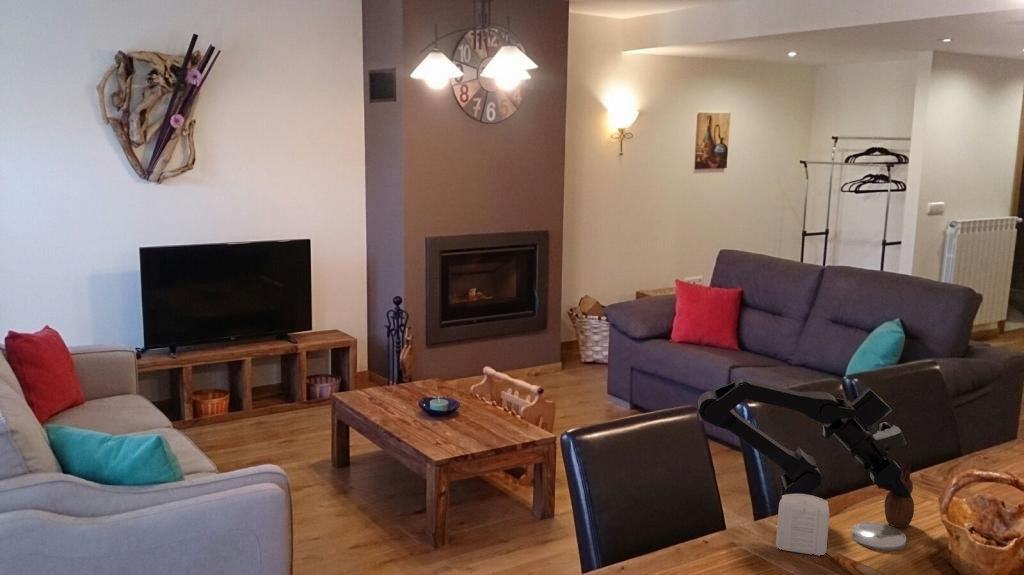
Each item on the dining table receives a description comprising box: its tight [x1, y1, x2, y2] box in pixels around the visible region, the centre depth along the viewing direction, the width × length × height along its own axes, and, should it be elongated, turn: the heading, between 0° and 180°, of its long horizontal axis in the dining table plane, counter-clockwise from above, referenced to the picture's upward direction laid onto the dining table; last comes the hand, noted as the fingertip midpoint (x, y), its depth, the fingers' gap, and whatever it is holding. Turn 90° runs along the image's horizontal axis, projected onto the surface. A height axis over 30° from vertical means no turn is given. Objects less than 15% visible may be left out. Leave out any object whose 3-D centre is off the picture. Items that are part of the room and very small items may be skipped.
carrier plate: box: [851, 521, 907, 552], centre depth 197 cm, size 11×11×2 cm
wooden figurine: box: [883, 463, 915, 529], centre depth 203 cm, size 7×6×15 cm
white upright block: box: [775, 494, 830, 556], centre depth 190 cm, size 10×4×12 cm, turn 73°
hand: (903, 488), depth 203 cm, fingers open, 9 cm apart
